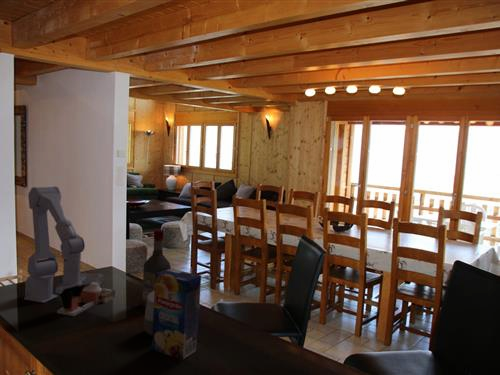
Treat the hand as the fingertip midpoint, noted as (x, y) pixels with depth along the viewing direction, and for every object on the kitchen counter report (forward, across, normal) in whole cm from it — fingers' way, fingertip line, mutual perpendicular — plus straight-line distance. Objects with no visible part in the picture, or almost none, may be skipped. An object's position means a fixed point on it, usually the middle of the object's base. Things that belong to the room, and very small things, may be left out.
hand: (70, 306), depth 157 cm
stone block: (+2, +29, +13) cm, 32 cm away
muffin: (+2, +14, 0) cm, 14 cm away
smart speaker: (+2, -4, -37) cm, 37 cm away
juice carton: (+2, -13, -47) cm, 49 cm away
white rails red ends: (+2, +4, 0) cm, 4 cm away
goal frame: (+2, +16, 0) cm, 16 cm away
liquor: (+2, +18, -25) cm, 31 cm away
